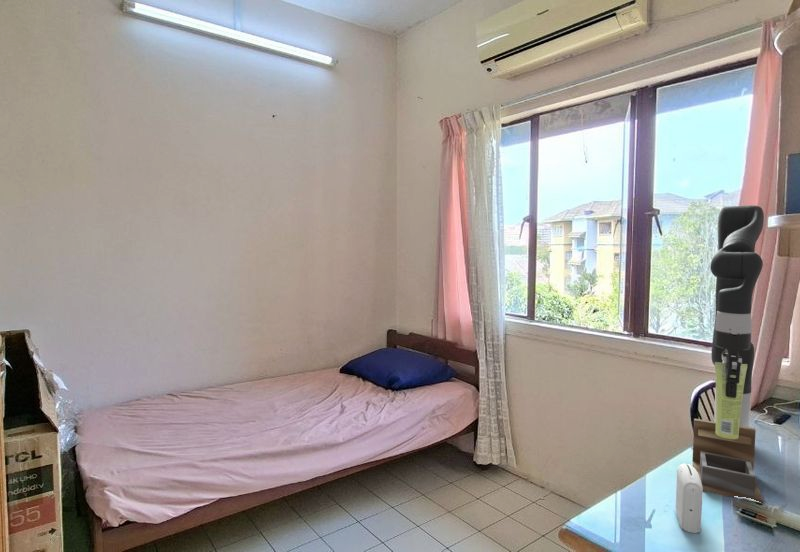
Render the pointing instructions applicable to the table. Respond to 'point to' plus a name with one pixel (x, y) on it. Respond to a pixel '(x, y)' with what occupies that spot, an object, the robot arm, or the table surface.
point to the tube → (728, 403)
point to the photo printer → (689, 498)
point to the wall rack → (725, 461)
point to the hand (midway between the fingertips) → (729, 394)
